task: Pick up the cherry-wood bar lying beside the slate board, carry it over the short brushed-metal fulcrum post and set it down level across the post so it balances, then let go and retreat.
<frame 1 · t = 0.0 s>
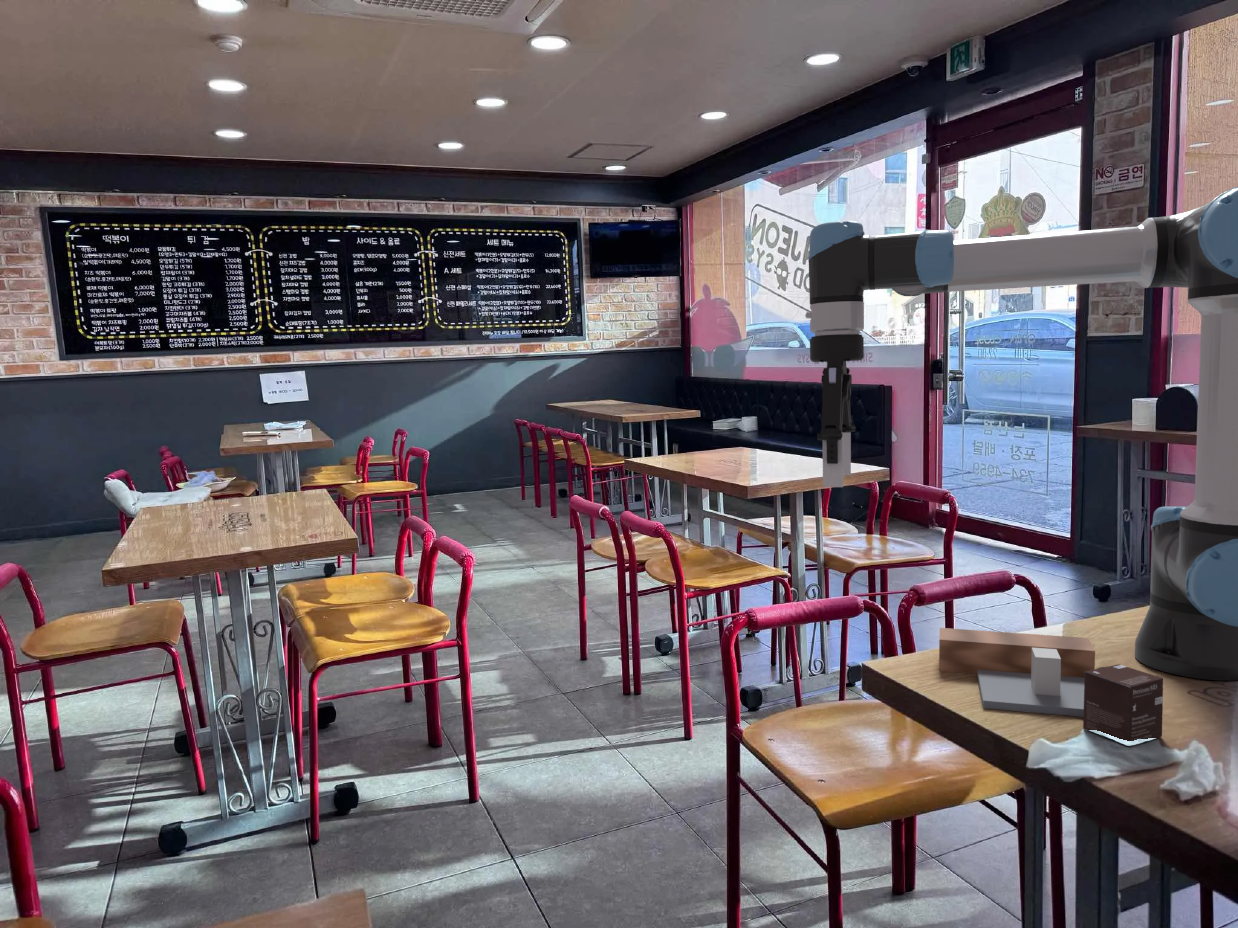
hand: (837, 480, 126), 28 cm above the table, fingers open, 13 cm apart
cherry bar: (1012, 672, 125), on the table
fulcrum: (1045, 696, 114), on the table
box: (1121, 735, 103), on the table
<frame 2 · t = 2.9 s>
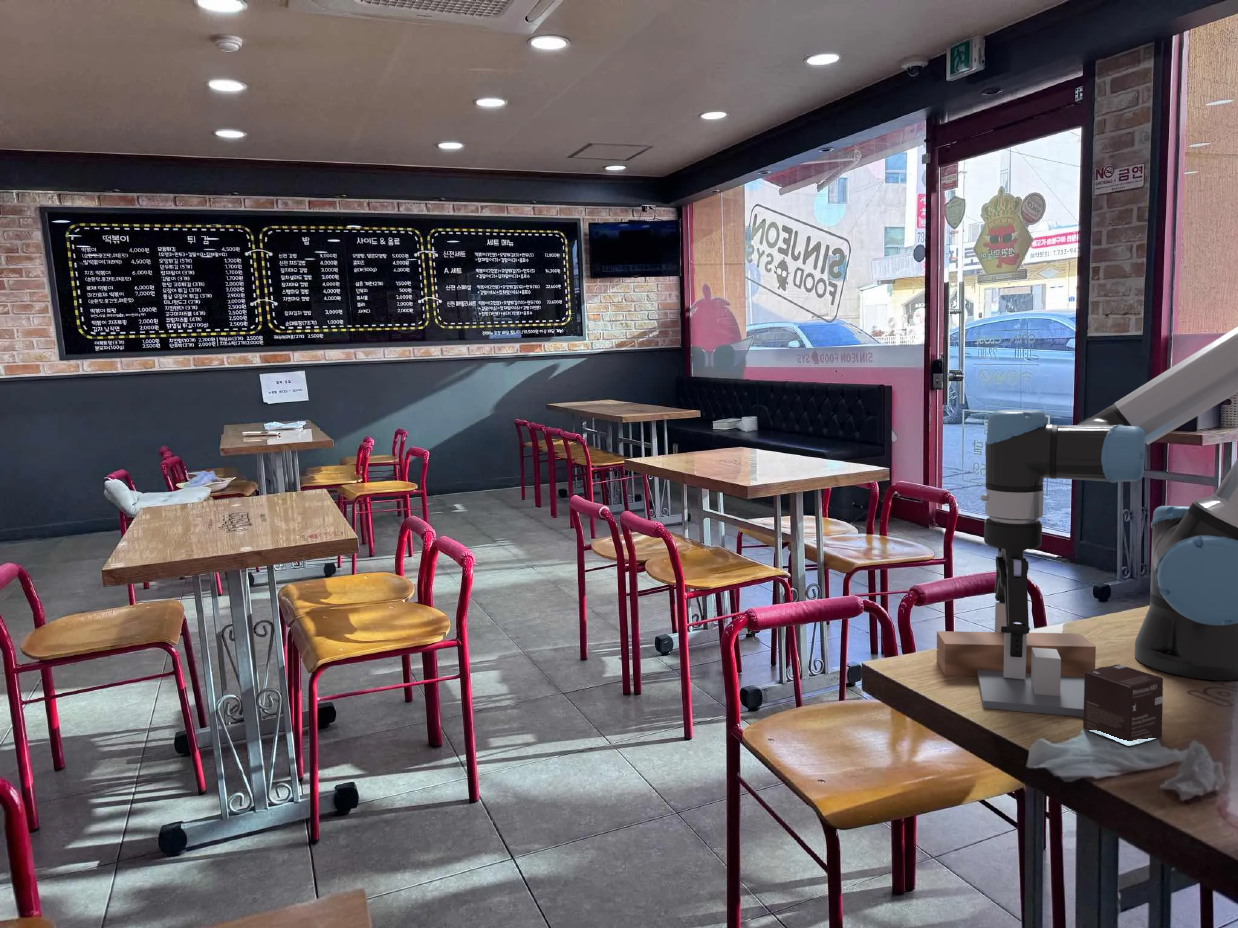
hand: (1008, 662, 125), 1 cm above the table, fingers open, 13 cm apart
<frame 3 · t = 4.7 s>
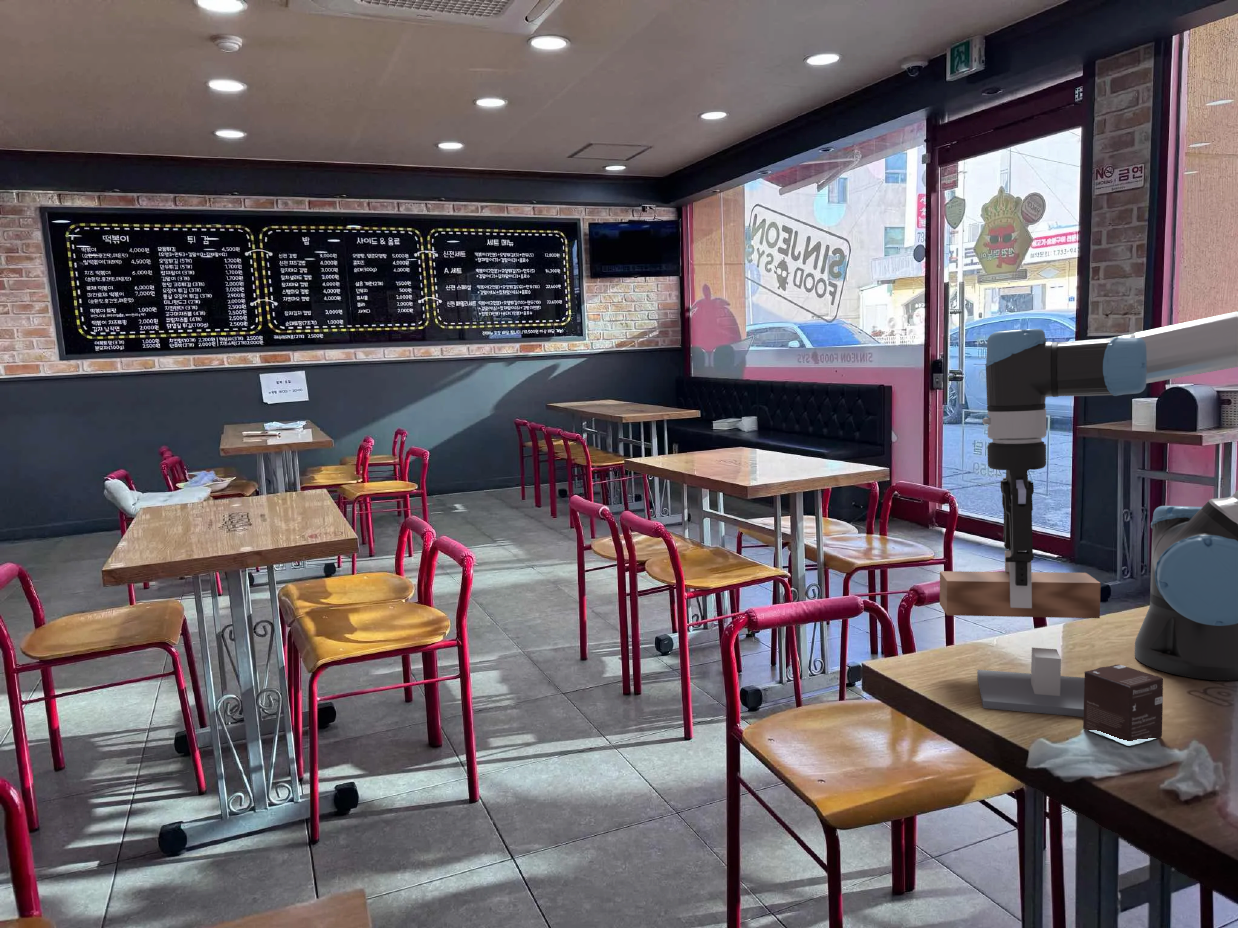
hand: (1018, 600, 123), 10 cm above the table, fingers closed on cherry bar, 6 cm apart
cherry bar: (1016, 610, 124), point 9 cm above the table, touching gripper
everything else where it was.
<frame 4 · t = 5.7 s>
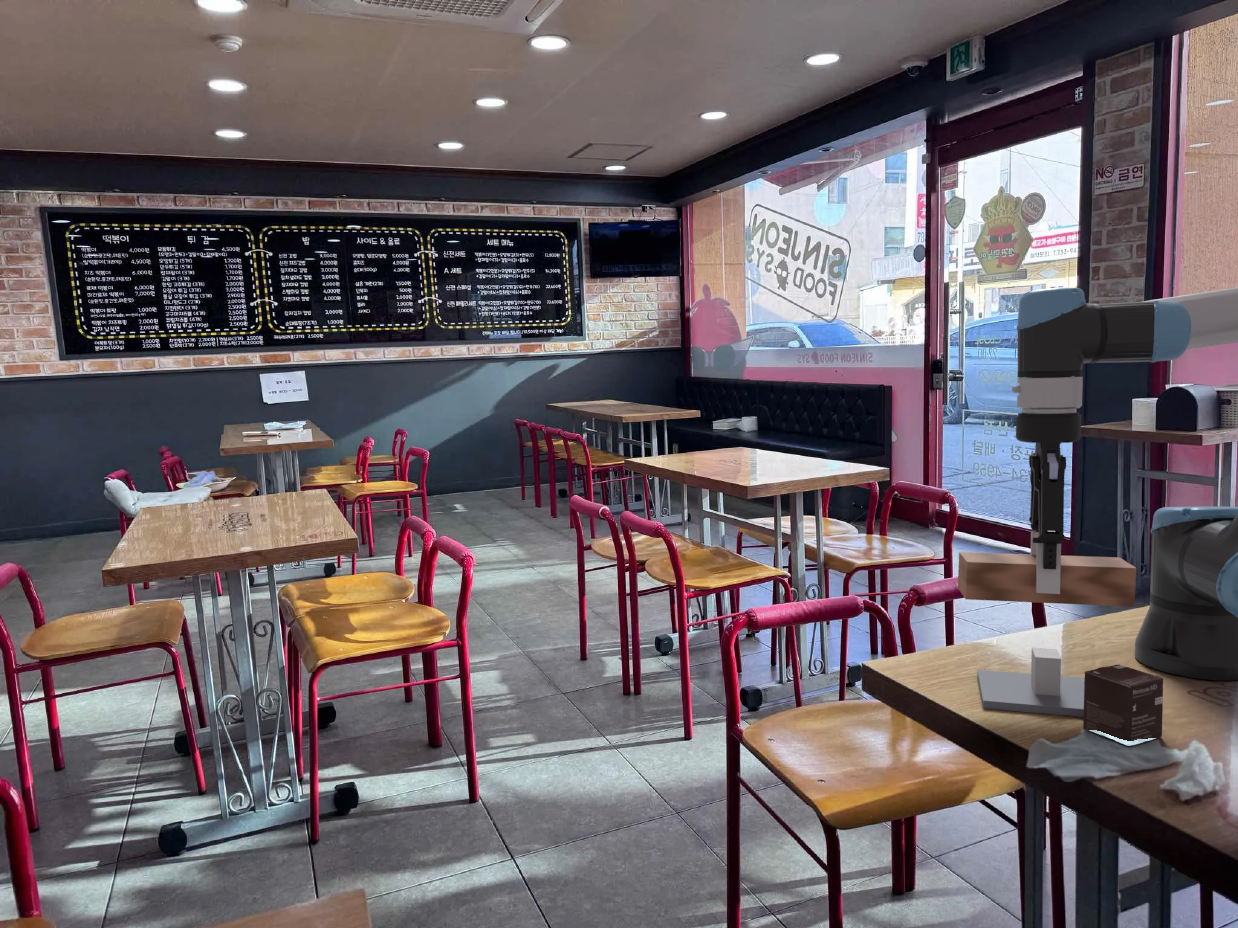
hand: (1044, 585, 113), 15 cm above the table, fingers closed on cherry bar, 6 cm apart
cherry bar: (1042, 596, 114), point 13 cm above the table, touching gripper
everything else where it was.
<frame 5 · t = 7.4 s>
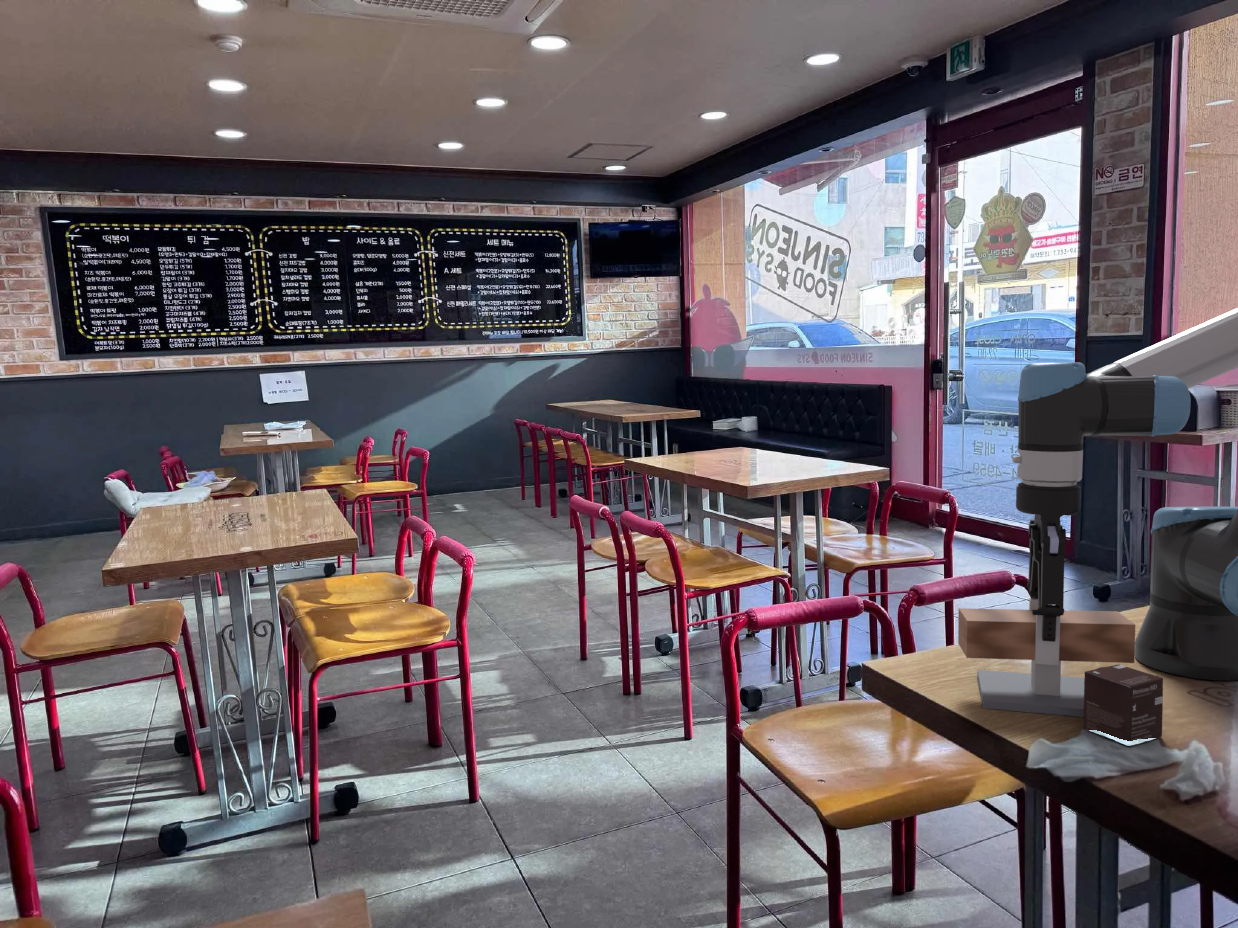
hand: (1042, 654, 114), 6 cm above the table, fingers closed on cherry bar, 6 cm apart
cherry bar: (1042, 652, 114), point 6 cm above the table, touching fulcrum, gripper
everything else where it was.
when the fingers open (5 cm above the table, at t = 8.2 s): cherry bar stays where it is, resting on fulcrum.
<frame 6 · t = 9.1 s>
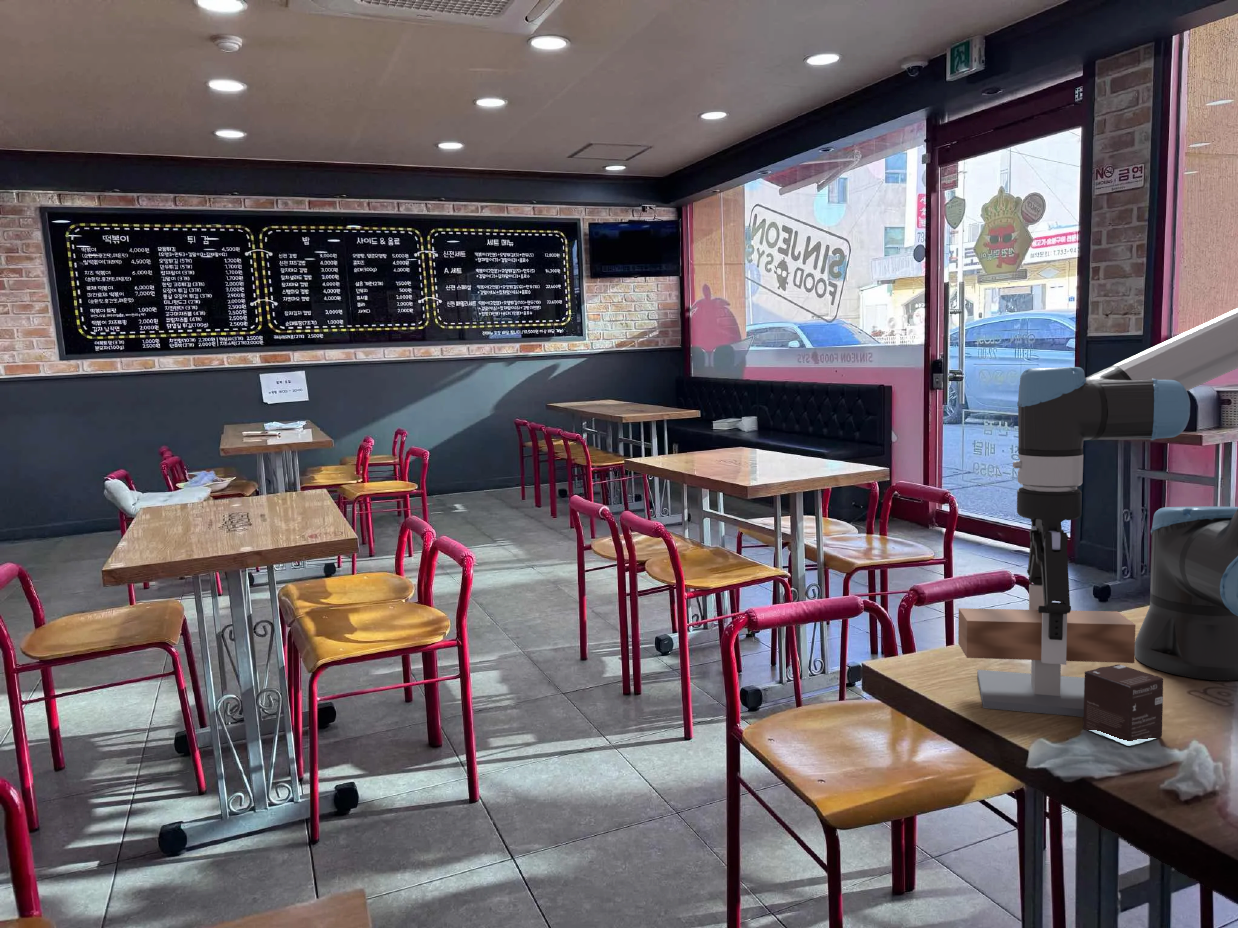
hand: (1046, 646, 114), 7 cm above the table, fingers open, 13 cm apart
cherry bar: (1042, 652, 114), point 6 cm above the table, touching fulcrum
everything else where it was.
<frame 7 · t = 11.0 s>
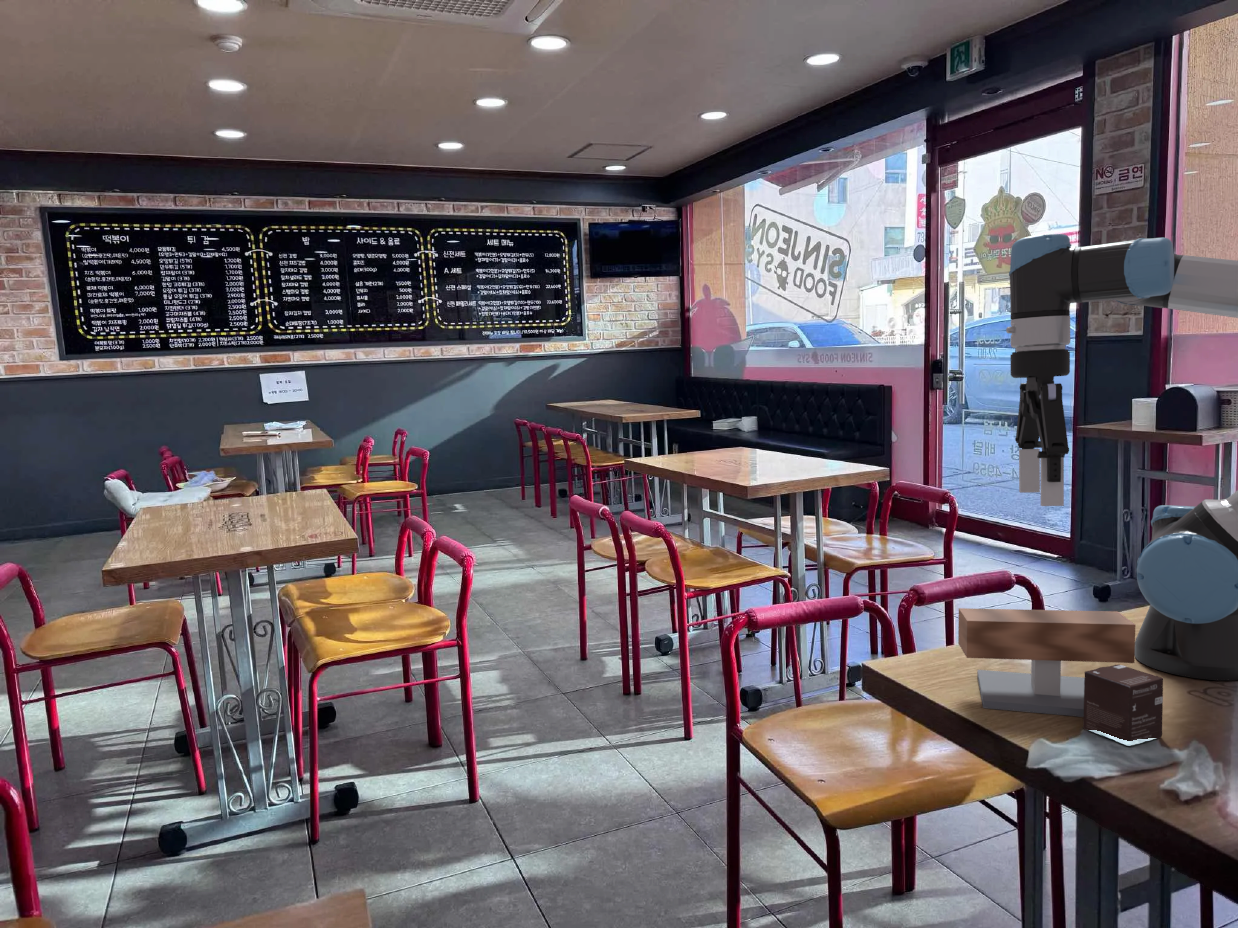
hand: (1040, 498, 123), 25 cm above the table, fingers open, 13 cm apart
nothing on the table moved.
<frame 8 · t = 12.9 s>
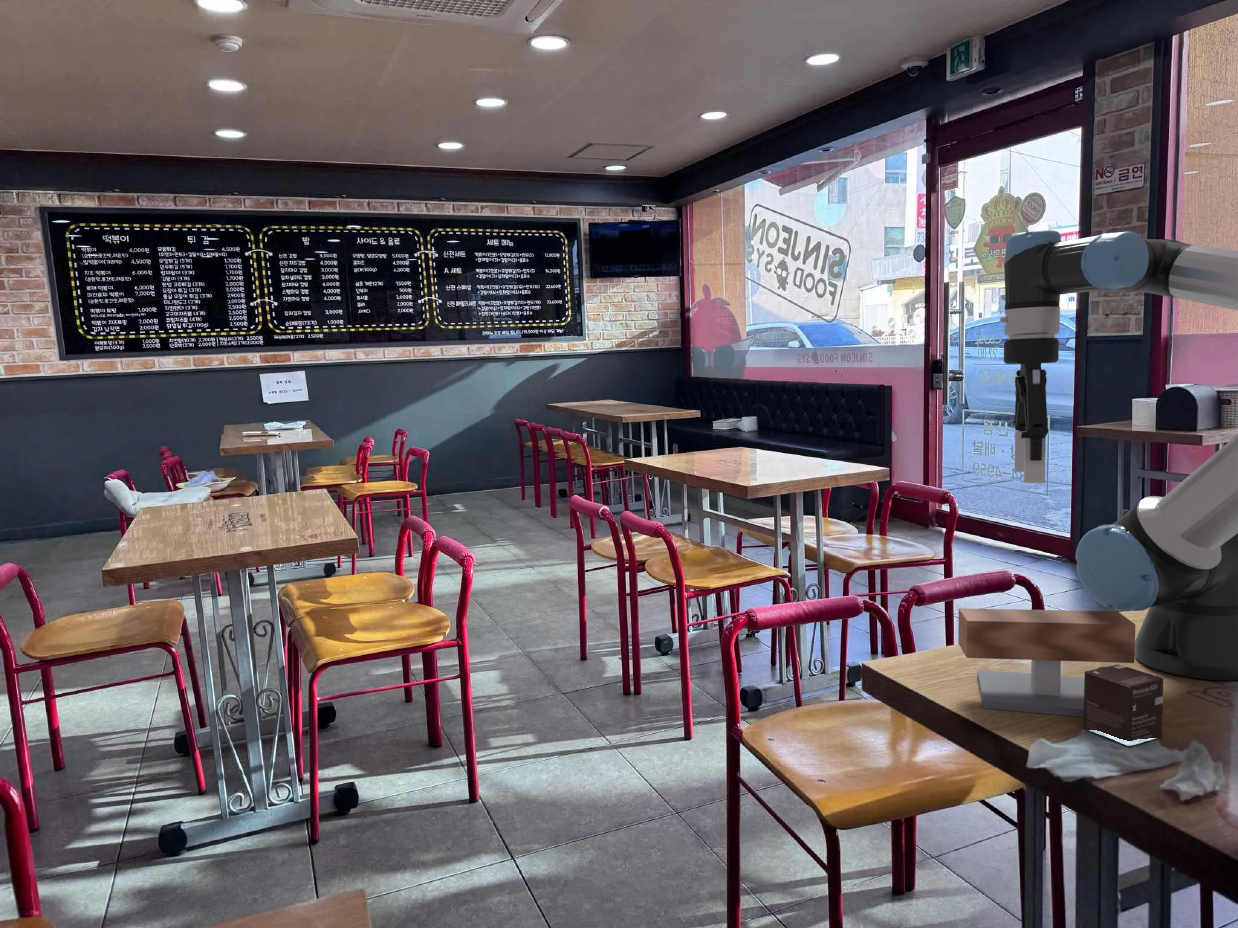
hand: (1028, 477, 132), 27 cm above the table, fingers open, 13 cm apart
nothing on the table moved.
at the end: cherry bar 0.4 cm off-centre on the fulcrum, point 6.0 cm above the fulcrum's base; cherry bar tilted 0°; the gripper is holding nothing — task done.
